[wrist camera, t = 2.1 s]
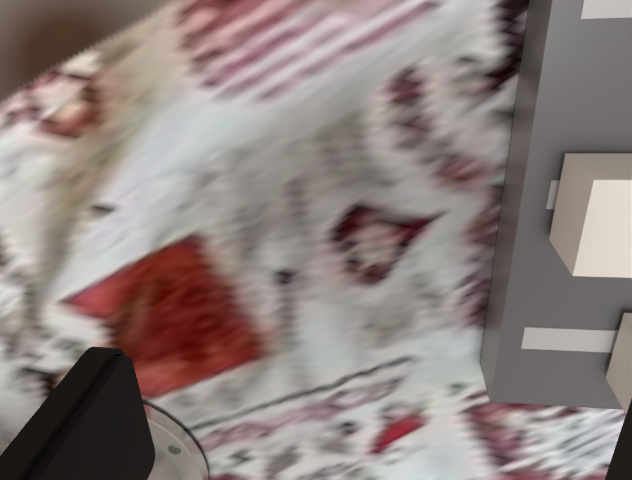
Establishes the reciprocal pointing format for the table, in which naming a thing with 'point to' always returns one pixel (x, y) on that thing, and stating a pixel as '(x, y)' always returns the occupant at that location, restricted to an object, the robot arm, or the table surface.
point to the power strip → (539, 205)
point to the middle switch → (595, 215)
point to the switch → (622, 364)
